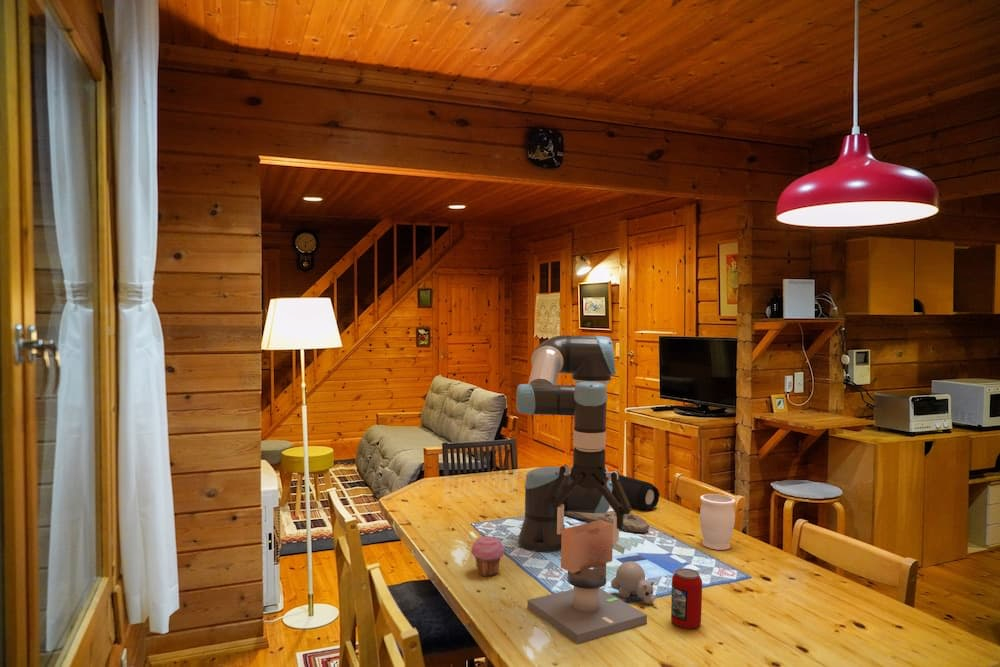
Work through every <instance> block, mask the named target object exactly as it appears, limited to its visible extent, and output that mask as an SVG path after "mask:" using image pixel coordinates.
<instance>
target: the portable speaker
mask: <svg viewBox="0 0 1000 667" xmlns="http://www.w3.org/2000/svg"><path fill="white" fill-rule="evenodd" d="M619 480H620V483H621V485H622V487H623V489H624V492H625V494H626V496H627V498H628V501H629V503H630V505H631V507H632V508H636V509H639V510H644V511H646V510H652V509H654V508H655V507H656V506H657V505H658V503H659V500H660V492H659V489H658V488H657V486H656V485H654V484H652V483H650V482H648V481H643V480H641V479H637V478H632V477H629V476H625V475H621V474H619ZM612 494H613V495H614V497H615V498H616V499H617V501H618V502H619V503H620V501H619V499H618V497H617V494H616V492H615V490H614V488H613V486H612Z"/></svg>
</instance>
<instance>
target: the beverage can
mask: <svg viewBox="0 0 1000 667" xmlns="http://www.w3.org/2000/svg"><path fill="white" fill-rule="evenodd" d="M702 601H703V580H702V578H701V576H700V573H699V571H697V570H695V569H693V568H686V567H685V568H684V567H682V568H677V569H676V570H675V573H674V574H673V575H672V577H671V602H670V603H671V605H670V608H671V610H670V611H671V612H670V619H671V621H672V622H673V623H674V624H675V625H676V626H678V627H680V628H683V629H695V628H697V627H698V626H700V625H701V623H702V605H703V602H702Z"/></svg>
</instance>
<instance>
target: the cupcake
mask: <svg viewBox="0 0 1000 667" xmlns="http://www.w3.org/2000/svg"><path fill="white" fill-rule="evenodd" d="M504 554H505V548H504V544H503V542H502V541H501V540H499V539H498V538H496V537H494V536H485V535H484V536H481V537H477V538H476V540H475V541H474V543H473V545H472V547H471V555H472V556H473V557H474V559H475V561H476V568H477V570H478V573H479V574H480V575H481V576H483V577H487V576H493V575H497V574H498V573H499V571H500V569H499V568H500V562H501V558H502V557H503V556H504Z"/></svg>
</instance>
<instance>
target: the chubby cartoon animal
mask: <svg viewBox="0 0 1000 667" xmlns="http://www.w3.org/2000/svg"><path fill="white" fill-rule="evenodd" d="M615 575H616V576H614V578H613V579H612V580H611V582H610V583H611V584H610V585H611V588H612V589H614V590H619V595H620V597H621V598H623V599H629V597H631V596H630V595H633V596H636V595H637V596H638V597H640V598H642V599H643V602H644V603H645V604H646V605H651V604H653V603H654V602H655V601H656V595H655V594H654V588H653V586H654V584H655V581H651V582H650V581H647V580H646V574H645V571H644V568H643V567H642V566H641V565H640V564H639V563H638V562H635V561H631V560H630V561H629V560H628V561H624V562H622V563H621V564H620V565H619V566H618V567H617V570H616V573H615Z"/></svg>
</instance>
